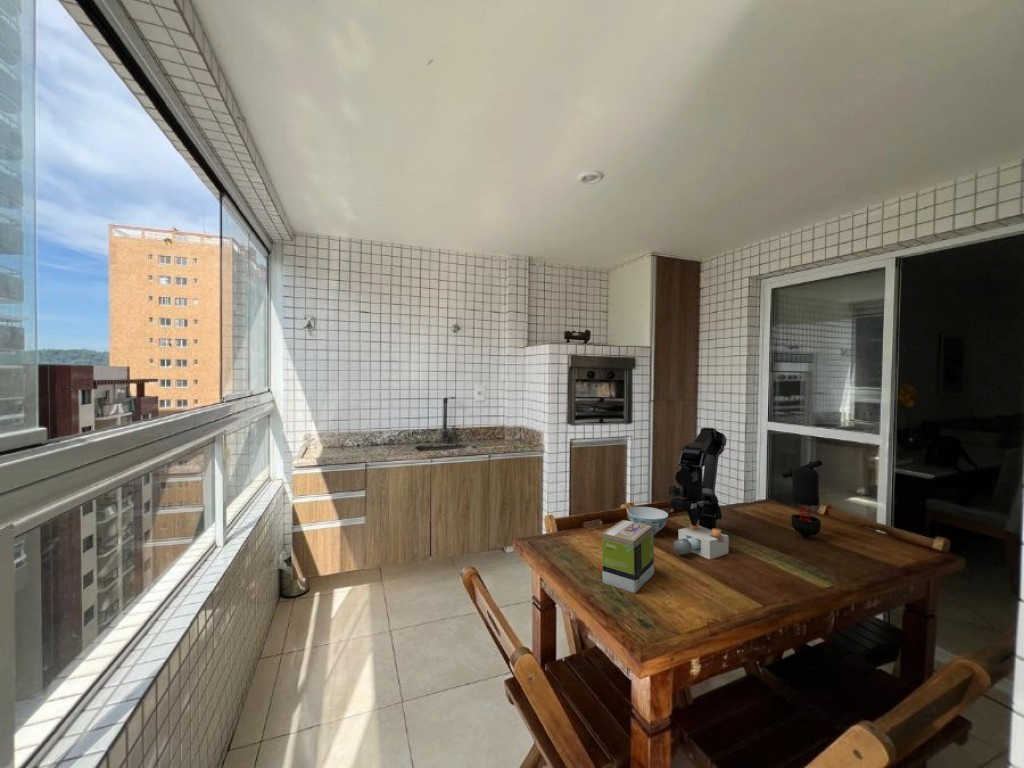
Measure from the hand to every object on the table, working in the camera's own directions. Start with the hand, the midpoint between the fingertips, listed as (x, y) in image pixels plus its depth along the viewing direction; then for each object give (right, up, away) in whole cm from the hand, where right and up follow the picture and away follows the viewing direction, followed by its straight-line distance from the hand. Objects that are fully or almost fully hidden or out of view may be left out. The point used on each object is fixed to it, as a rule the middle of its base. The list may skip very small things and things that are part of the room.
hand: (693, 525), depth 142 cm
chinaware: (-12, -7, +12) cm, 19 cm away
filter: (+45, -8, +8) cm, 46 cm away
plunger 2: (+4, -1, -8) cm, 9 cm away
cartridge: (-2, -6, -6) cm, 9 cm away
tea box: (-31, -7, -25) cm, 40 cm away
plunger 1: (0, -2, 0) cm, 3 cm away
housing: (+1, -7, -4) cm, 8 cm away
